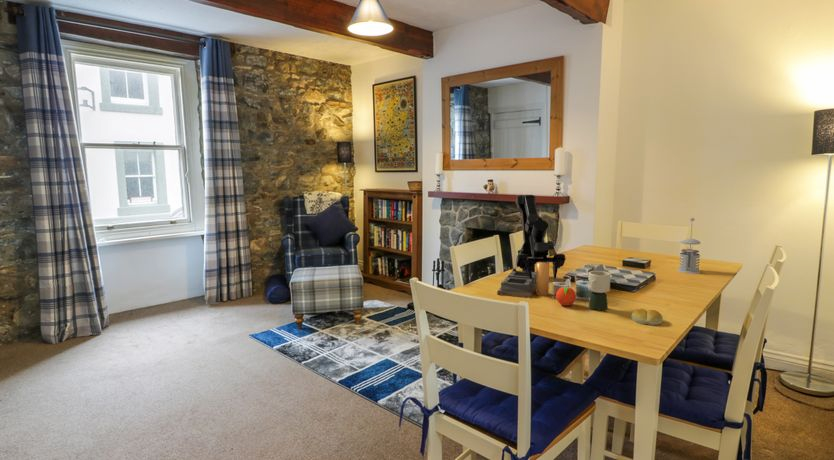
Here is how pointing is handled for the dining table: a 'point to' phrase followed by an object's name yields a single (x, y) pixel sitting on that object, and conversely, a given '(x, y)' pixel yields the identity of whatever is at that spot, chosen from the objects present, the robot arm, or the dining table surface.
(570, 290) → the tomato
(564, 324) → the dining table surface
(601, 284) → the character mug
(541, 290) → the tan cylinder
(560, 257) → the robot arm
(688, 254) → the french press
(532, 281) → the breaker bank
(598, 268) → the electrical switch
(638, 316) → the bread roll
